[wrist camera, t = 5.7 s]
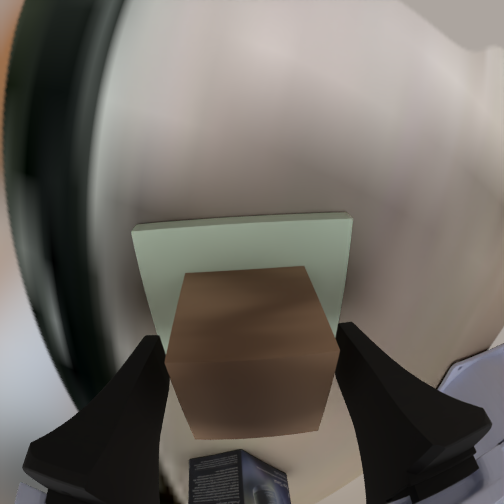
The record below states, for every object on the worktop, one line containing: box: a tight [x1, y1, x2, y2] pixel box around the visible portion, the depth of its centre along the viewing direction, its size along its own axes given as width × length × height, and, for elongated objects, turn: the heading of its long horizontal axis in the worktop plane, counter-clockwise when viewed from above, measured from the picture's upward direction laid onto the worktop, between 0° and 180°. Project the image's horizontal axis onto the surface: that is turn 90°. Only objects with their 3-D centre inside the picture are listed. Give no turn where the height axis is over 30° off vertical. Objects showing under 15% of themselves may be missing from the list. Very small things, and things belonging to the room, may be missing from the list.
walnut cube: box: [164, 266, 340, 440], centre depth 11 cm, size 5×5×5 cm
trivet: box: [131, 212, 353, 354], centre depth 14 cm, size 9×9×1 cm
